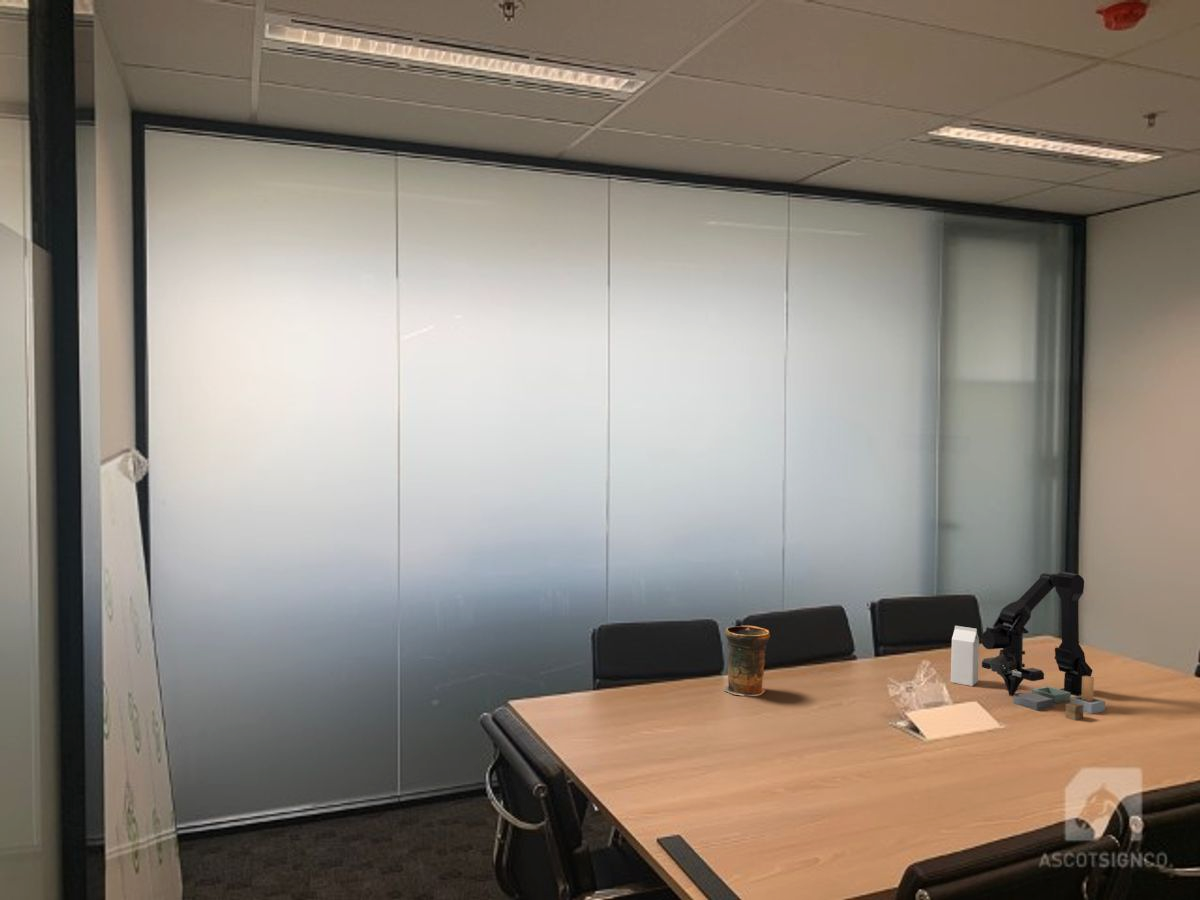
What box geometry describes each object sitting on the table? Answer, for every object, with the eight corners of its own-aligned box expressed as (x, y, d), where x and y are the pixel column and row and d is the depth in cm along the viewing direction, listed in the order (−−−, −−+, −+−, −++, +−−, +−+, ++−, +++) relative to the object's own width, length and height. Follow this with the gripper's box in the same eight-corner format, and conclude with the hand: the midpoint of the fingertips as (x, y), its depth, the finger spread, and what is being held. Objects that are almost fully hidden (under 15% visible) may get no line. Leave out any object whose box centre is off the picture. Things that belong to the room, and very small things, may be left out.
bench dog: (1073, 715, 263) (1073, 702, 263) (1083, 718, 261) (1083, 705, 260) (1065, 717, 261) (1065, 704, 261) (1074, 720, 259) (1075, 706, 259)
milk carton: (972, 686, 292) (974, 630, 292) (950, 682, 297) (952, 627, 296) (977, 682, 298) (979, 627, 298) (956, 678, 302) (957, 624, 302)
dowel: (1085, 707, 272) (1086, 675, 272) (1095, 709, 269) (1096, 677, 269) (1078, 708, 270) (1079, 676, 270) (1088, 711, 268) (1089, 679, 267)
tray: (1047, 693, 286) (1047, 686, 286) (1070, 700, 279) (1070, 692, 279) (1031, 696, 282) (1031, 689, 282) (1054, 703, 275) (1054, 695, 275)
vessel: (769, 699, 274) (770, 635, 274) (723, 696, 276) (725, 633, 276) (767, 686, 288) (769, 626, 288) (724, 683, 291) (725, 624, 290)
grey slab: (1029, 701, 278) (1029, 692, 278) (1052, 708, 271) (1053, 698, 271) (1013, 704, 274) (1013, 695, 274) (1036, 711, 267) (1036, 702, 267)
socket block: (1082, 704, 274) (1083, 695, 274) (1104, 710, 268) (1105, 701, 268) (1069, 707, 271) (1069, 697, 271) (1091, 713, 265) (1091, 704, 265)
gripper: (971, 643, 283) (969, 691, 284) (1022, 656, 267) (1021, 707, 267) (993, 640, 289) (992, 686, 289) (1045, 652, 272) (1044, 702, 273)
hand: (1011, 695), depth 279 cm, fingers closed
